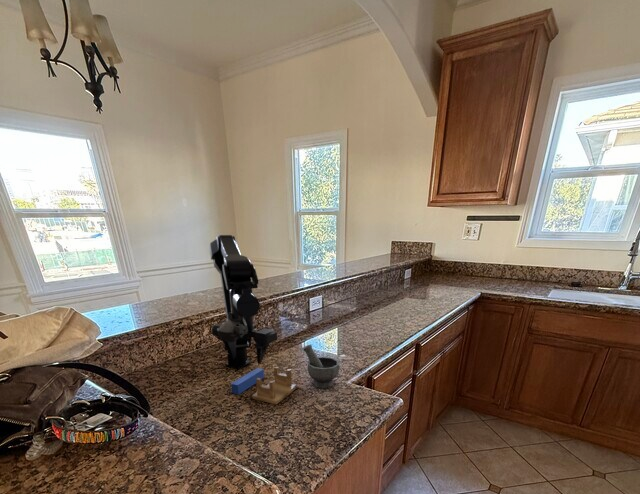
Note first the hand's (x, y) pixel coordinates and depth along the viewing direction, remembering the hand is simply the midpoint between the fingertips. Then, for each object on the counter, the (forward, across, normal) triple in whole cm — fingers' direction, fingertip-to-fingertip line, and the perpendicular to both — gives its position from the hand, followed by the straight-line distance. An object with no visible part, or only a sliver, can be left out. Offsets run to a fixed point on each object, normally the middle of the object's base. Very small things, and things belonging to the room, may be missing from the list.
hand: (246, 360), depth 103 cm
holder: (+8, +10, -1) cm, 13 cm away
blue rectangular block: (+8, 0, 0) cm, 8 cm away
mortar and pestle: (+8, +19, +11) cm, 23 cm away
